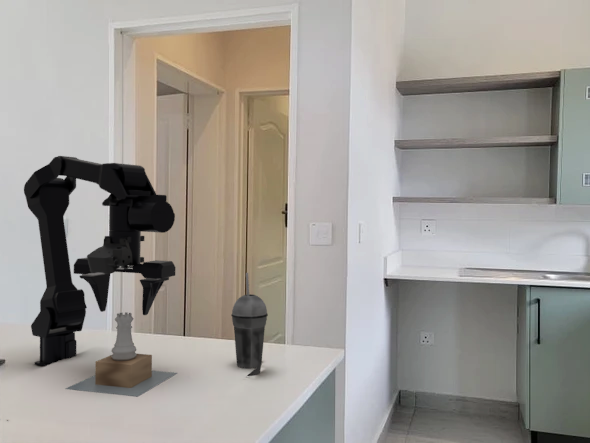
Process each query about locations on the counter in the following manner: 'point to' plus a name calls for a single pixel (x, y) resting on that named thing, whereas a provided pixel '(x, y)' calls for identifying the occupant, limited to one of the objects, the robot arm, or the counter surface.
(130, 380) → the base brick
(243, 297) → the beverage cup
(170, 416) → the counter surface
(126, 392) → the build plate
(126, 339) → the rook chess piece
